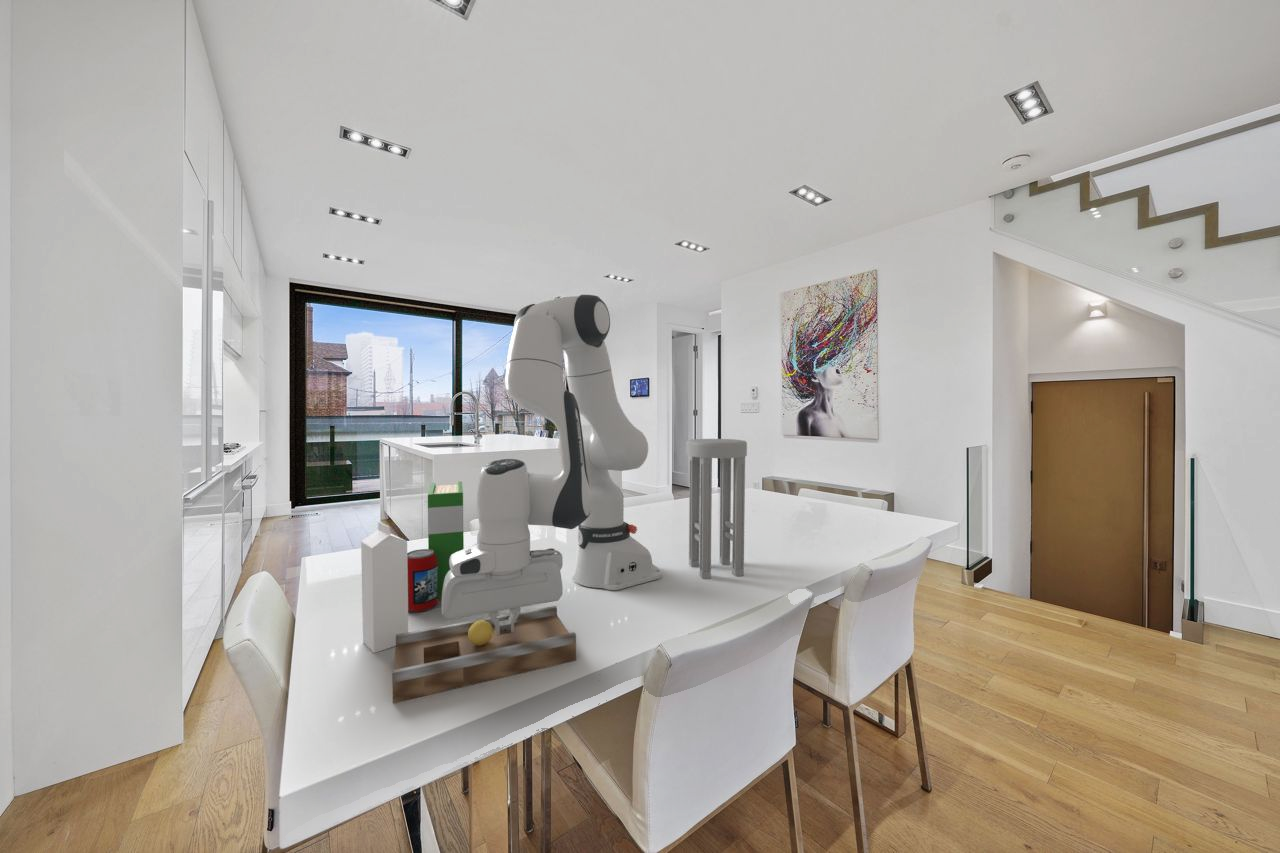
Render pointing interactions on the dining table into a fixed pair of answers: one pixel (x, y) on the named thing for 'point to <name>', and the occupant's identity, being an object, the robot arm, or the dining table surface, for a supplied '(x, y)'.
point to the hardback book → (445, 526)
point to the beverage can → (422, 580)
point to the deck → (478, 653)
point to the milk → (384, 588)
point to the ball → (480, 633)
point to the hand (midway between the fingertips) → (504, 632)
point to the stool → (703, 502)
